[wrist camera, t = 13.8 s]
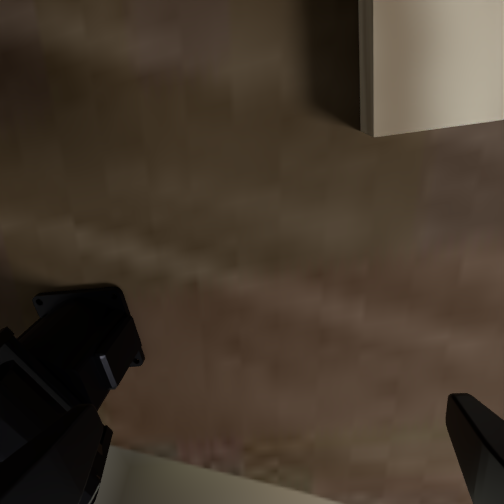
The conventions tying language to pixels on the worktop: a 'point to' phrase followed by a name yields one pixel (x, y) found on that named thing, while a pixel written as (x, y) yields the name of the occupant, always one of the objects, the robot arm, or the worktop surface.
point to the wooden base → (430, 64)
